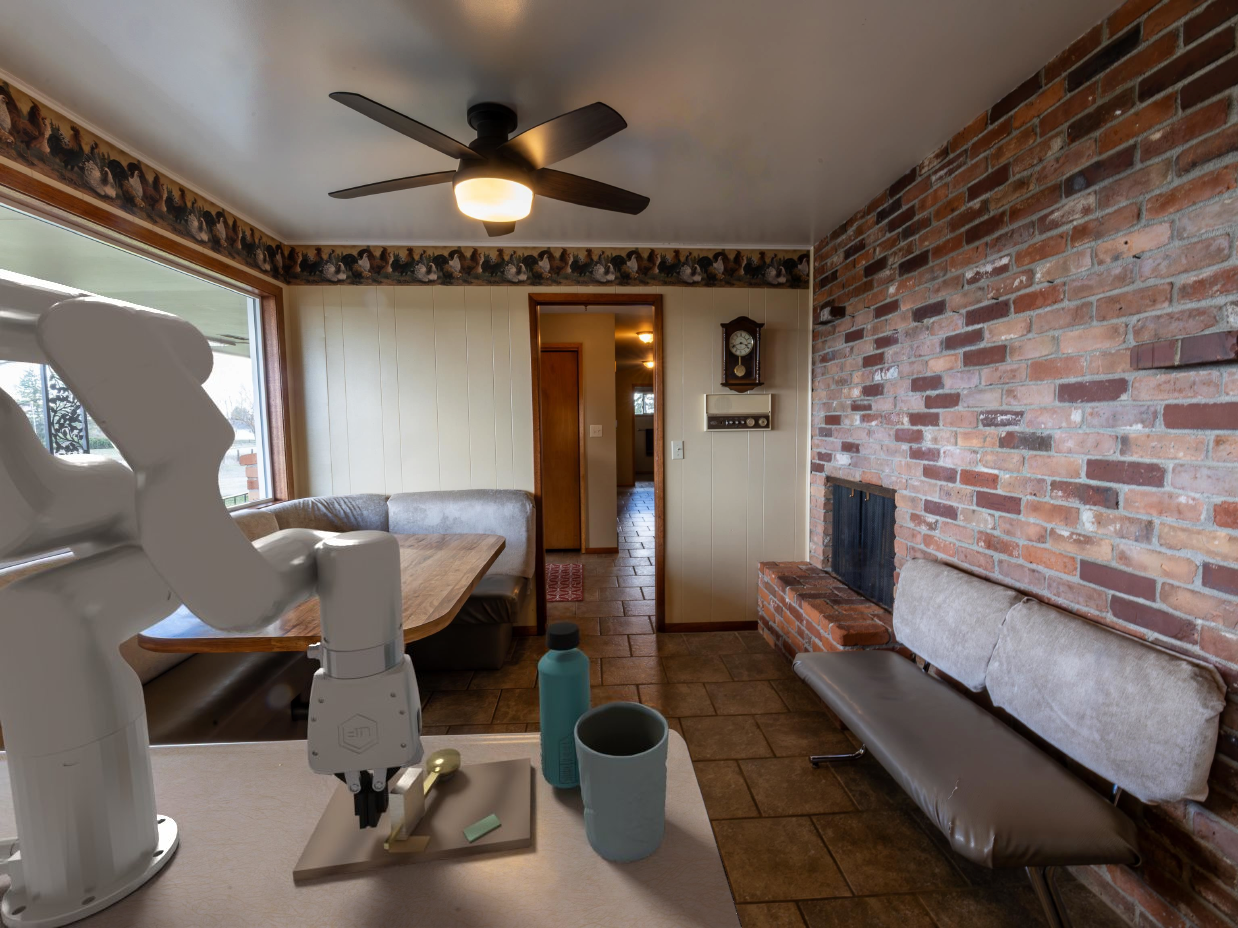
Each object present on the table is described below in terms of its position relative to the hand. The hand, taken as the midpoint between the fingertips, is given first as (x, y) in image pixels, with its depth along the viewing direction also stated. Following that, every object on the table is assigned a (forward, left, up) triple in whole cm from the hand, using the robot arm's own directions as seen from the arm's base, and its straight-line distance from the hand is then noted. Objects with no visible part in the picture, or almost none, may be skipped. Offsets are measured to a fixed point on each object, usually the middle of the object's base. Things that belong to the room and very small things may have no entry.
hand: (372, 817), depth 56 cm
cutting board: (+5, +3, -3) cm, 7 cm away
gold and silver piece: (+4, +3, -2) cm, 6 cm away
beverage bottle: (+21, +6, -3) cm, 22 cm away
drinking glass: (+26, -3, -3) cm, 27 cm away
